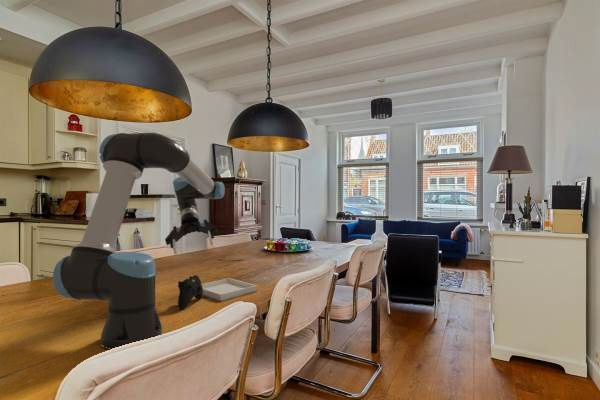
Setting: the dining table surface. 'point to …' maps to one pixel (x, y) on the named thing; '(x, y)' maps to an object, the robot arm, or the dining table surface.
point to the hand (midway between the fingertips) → (193, 246)
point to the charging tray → (227, 289)
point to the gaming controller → (189, 290)
